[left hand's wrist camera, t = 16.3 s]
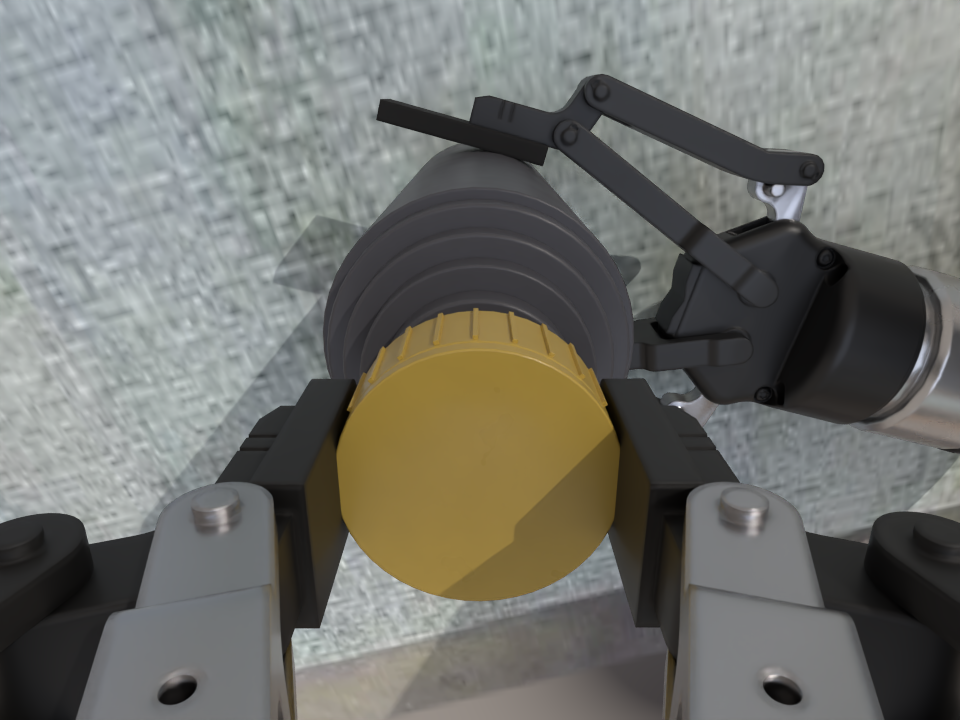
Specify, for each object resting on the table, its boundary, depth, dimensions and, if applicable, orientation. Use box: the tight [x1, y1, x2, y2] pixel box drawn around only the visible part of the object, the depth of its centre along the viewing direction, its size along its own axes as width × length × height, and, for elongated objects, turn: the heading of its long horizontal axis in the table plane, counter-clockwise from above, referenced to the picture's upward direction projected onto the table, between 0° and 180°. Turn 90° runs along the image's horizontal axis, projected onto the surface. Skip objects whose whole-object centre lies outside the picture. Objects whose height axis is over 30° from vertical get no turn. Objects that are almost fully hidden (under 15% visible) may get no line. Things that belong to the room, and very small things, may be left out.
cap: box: [336, 308, 620, 601], centre depth 11 cm, size 4×4×2 cm
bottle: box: [323, 144, 634, 385], centre depth 22 cm, size 7×7×25 cm
